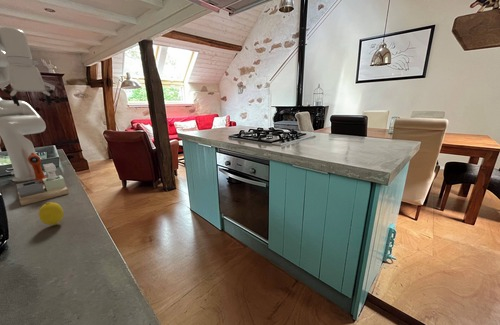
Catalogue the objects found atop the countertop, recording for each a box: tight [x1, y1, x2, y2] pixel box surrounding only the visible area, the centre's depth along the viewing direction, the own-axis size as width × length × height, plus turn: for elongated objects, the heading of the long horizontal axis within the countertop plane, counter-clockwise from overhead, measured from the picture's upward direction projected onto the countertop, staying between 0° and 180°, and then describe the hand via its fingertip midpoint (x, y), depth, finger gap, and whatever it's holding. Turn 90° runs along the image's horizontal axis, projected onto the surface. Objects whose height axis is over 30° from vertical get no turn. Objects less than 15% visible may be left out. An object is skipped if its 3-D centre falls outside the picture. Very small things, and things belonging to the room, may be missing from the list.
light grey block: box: [42, 162, 57, 181], centre depth 91 cm, size 7×3×10 cm, turn 48°
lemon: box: [38, 201, 65, 226], centre depth 67 cm, size 6×6×8 cm
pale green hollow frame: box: [42, 174, 67, 191], centre depth 92 cm, size 6×6×4 cm
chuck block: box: [16, 179, 45, 198], centre depth 87 cm, size 7×7×4 cm
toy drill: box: [28, 153, 48, 185], centre depth 100 cm, size 5×19×15 cm, turn 46°
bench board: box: [17, 185, 70, 206], centre depth 90 cm, size 14×14×2 cm
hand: (34, 105), depth 93 cm, fingers open, 9 cm apart
